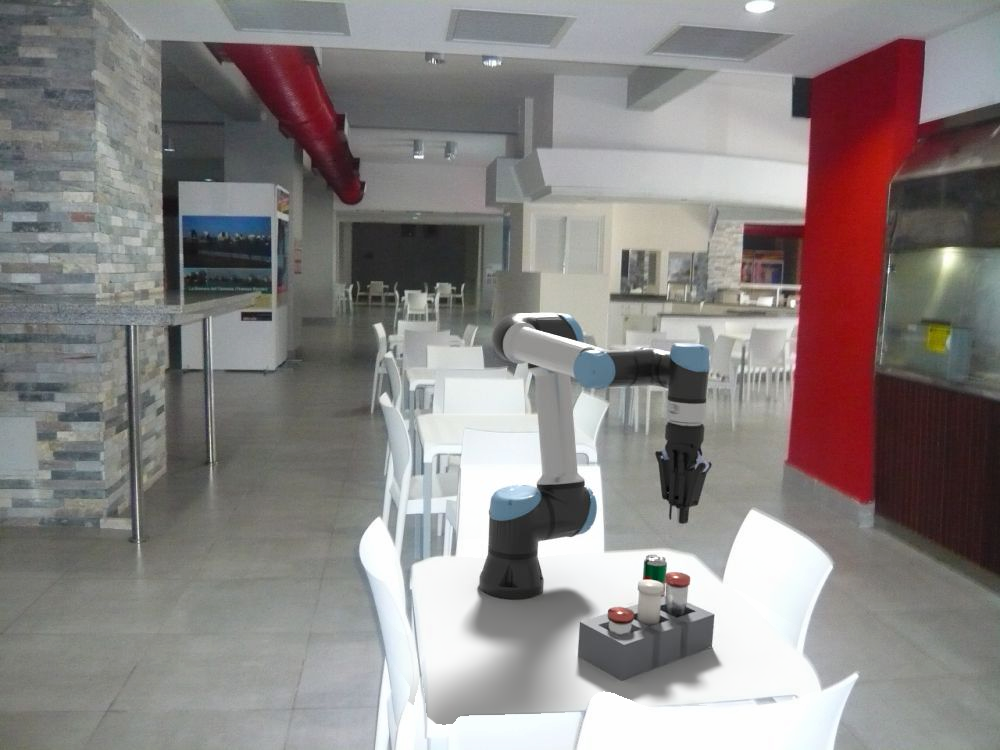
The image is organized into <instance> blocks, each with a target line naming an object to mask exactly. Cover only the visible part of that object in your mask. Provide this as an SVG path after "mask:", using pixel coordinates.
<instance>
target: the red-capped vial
mask: <svg viewBox="0 0 1000 750" xmlns="http://www.w3.org/2000/svg"><path fill="white" fill-rule="evenodd" d="M607 613H608V619H609V626H608V630H609V631H611V632H613V633H615V634H617V635H619V636H623V635H626V634H629V633H631V627H632V621H633V620H634V612H633V611H632V610H630V609H628V608H627V607H622V606H614V607H610V608H609V609H608V610H607Z"/></svg>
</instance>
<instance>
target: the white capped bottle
mask: <svg viewBox="0 0 1000 750" xmlns="http://www.w3.org/2000/svg"><path fill="white" fill-rule="evenodd" d="M663 587H664V585H663V584H662V583H661V582H659V581H655V580H643V579H640V580H638V582H637V591H638V600H637V604H638V613H637V621H638V622H640V623H643V624H645V625H647V626H649V627H650V626H653V625H656V624H659V621H660V607H661V594H662V593H663Z"/></svg>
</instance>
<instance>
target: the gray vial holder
mask: <svg viewBox="0 0 1000 750" xmlns="http://www.w3.org/2000/svg"><path fill="white" fill-rule="evenodd" d="M664 607H665V596H664V597H661V607H660V621H659V624H656V625H653V626H650V627H649V626H647V625H645V624H643V623H640V622H638V621H637V613H638V603H637V604H634V605H631V606H628V607H627V606H626V608H628V609H630V610H632V611H633V612H634V620H633V621H632V627H631V633H629V634H626V635H623V636H619V635H617V634H615V633H613V632H611V631H609V630H608V626H609V619H608V612H607V613H605V614H601V615H598V616H594V617H591V618H588V619H584V620H580V621H579V629H578V632H579V633H578V645H577V646H578V647H577V656H578V657H580V658H581V659H583V660H585V661H586V662H588V663H590V664H592V665H594V666H595V667H597V668H598V669H600V670H602V671H604V672H606V673H608V674H609V675H611V676H613V677H615V678H617V679H618V680H620V681H624V680H627V679H629V678H632V677H635V676H638V675H641V674H644V673H645V672H648V671H649V672H650V671H651V670H653V669H656V668H659V667H662V666H665V665H668V664H670V663H673V662H675V661H678V660H681V659H683V658H686V657H688V656H689V657H690V656H692V655H694V654H697V653H699V652H702V651H704V650H707V649H711V648H712V647H713V638H714V628H715V627H714V626H715V625H714V624H715V613H712V612H710V611H708V610H705V609H704V608H701V607H699V606H697V605H694V604H692V603H689V602H687V609H686V615H684V616H681V617H677V618H676V617H674V616H672V615H670V614H668V613H665V612H664Z"/></svg>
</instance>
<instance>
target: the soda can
mask: <svg viewBox="0 0 1000 750" xmlns="http://www.w3.org/2000/svg"><path fill="white" fill-rule="evenodd" d="M667 566H668V563H667V560H666V557H665V556H663V555H660V554H648V555H646V556H645V559H644V561H643V569H642V571H643V572H642V580H655V581H659V582H661V583H662V584H663V585H664V587H663V593H662V594H661V597H664V596H665V593H666V582H665V575H666V574H667V570H668V567H667Z"/></svg>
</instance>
